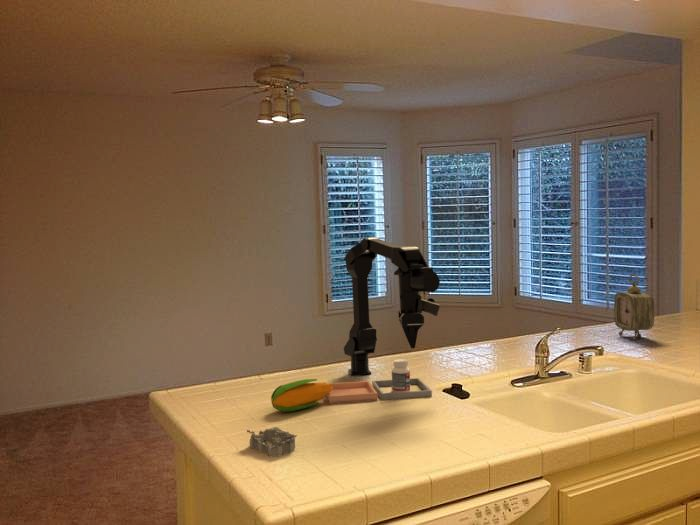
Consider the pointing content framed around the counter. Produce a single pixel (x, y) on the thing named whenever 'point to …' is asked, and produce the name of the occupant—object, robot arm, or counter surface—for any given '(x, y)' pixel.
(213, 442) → the counter surface
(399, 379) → the pill bottle
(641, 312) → the tabletop clock
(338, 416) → the counter surface
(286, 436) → the egg carton
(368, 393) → the terracotta dish
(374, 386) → the grey frame
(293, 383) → the corn
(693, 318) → the counter surface
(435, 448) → the counter surface
